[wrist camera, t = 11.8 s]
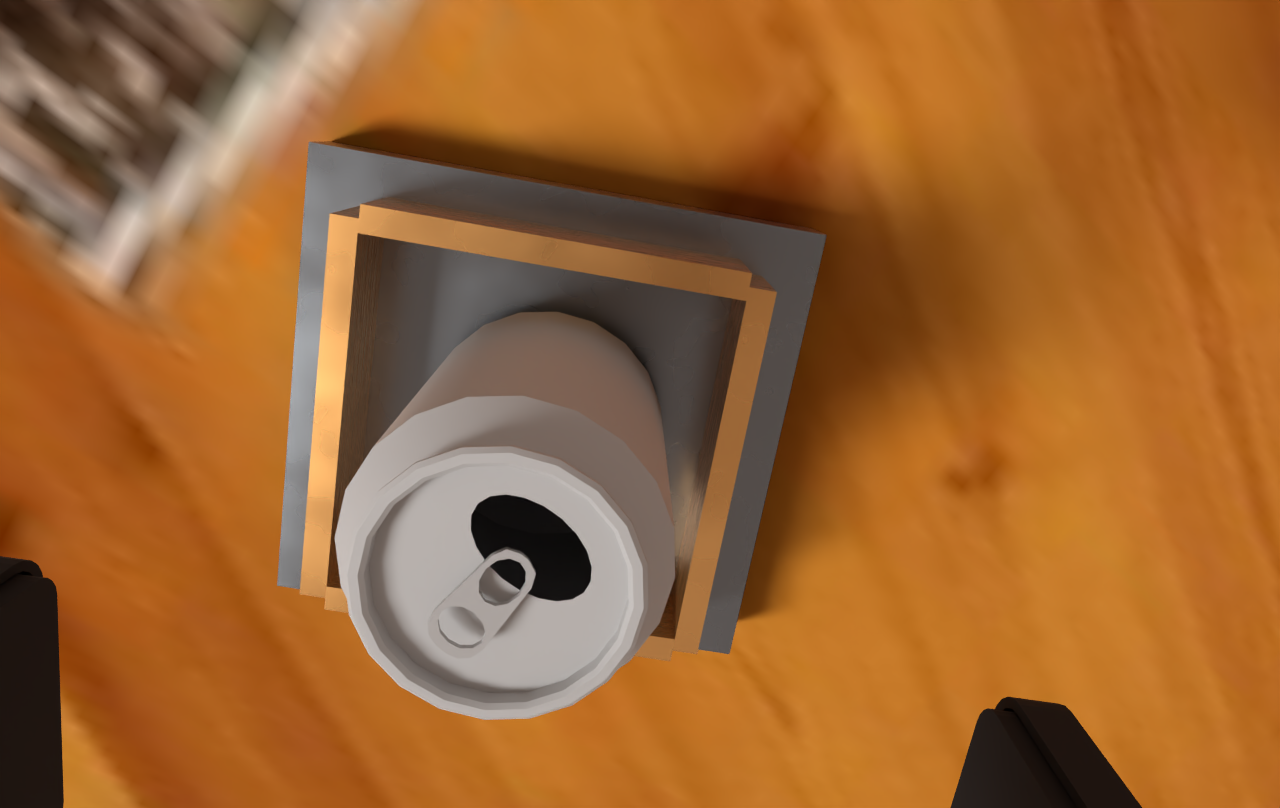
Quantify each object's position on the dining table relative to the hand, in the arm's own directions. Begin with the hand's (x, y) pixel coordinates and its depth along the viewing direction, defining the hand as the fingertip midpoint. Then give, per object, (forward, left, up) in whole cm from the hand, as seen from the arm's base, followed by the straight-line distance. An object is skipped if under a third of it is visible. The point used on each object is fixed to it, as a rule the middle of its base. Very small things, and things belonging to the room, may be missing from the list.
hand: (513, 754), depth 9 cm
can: (+1, +3, -21) cm, 21 cm away
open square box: (+1, +3, -23) cm, 23 cm away
